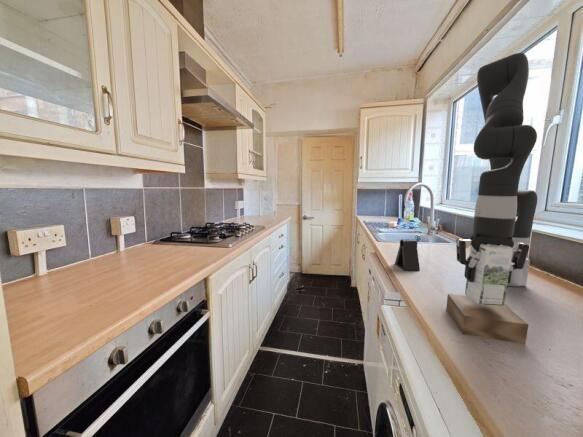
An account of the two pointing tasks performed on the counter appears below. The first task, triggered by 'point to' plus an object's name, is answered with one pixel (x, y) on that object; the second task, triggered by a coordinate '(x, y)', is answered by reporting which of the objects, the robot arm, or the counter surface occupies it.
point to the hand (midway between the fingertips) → (485, 282)
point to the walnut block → (486, 320)
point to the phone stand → (408, 256)
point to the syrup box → (490, 275)
